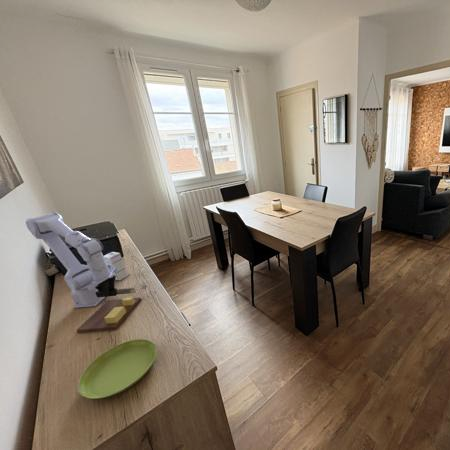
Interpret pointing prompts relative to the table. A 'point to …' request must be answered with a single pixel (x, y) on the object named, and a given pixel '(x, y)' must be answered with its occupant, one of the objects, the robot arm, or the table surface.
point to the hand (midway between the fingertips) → (109, 293)
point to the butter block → (115, 315)
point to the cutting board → (98, 317)
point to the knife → (116, 292)
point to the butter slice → (128, 301)
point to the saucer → (117, 369)
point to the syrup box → (116, 265)
